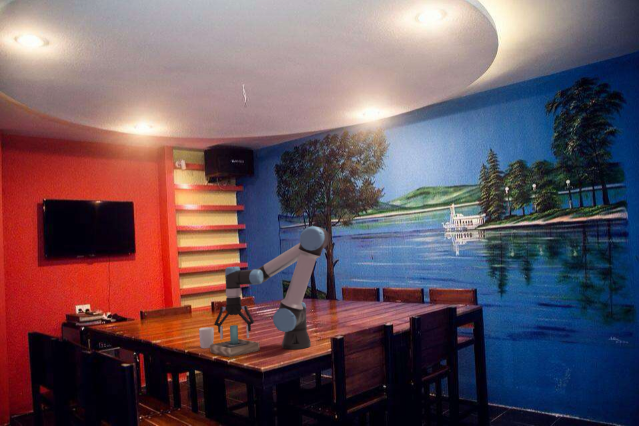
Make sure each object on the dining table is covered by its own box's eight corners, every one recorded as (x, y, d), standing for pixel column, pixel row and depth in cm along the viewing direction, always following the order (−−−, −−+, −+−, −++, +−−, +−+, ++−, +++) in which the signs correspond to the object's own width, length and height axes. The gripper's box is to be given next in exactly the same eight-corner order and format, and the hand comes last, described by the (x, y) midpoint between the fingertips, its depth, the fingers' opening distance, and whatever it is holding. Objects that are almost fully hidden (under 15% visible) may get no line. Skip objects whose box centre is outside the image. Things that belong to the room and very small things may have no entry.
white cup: (215, 345, 259) (215, 327, 259) (212, 348, 251) (212, 329, 252) (201, 346, 258) (200, 327, 259) (197, 349, 250) (197, 330, 251)
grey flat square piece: (259, 350, 240) (259, 342, 240) (229, 357, 227) (229, 348, 228) (239, 346, 253) (239, 338, 253) (210, 352, 240) (210, 344, 241)
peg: (240, 349, 240) (239, 325, 241) (233, 350, 237) (232, 326, 238) (235, 348, 243) (234, 324, 244) (229, 349, 240) (228, 325, 241)
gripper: (258, 294, 246) (260, 336, 244) (211, 297, 246) (212, 338, 244) (256, 296, 238) (257, 338, 236) (207, 298, 239) (208, 340, 237)
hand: (234, 338), depth 240 cm, fingers open, 13 cm apart
